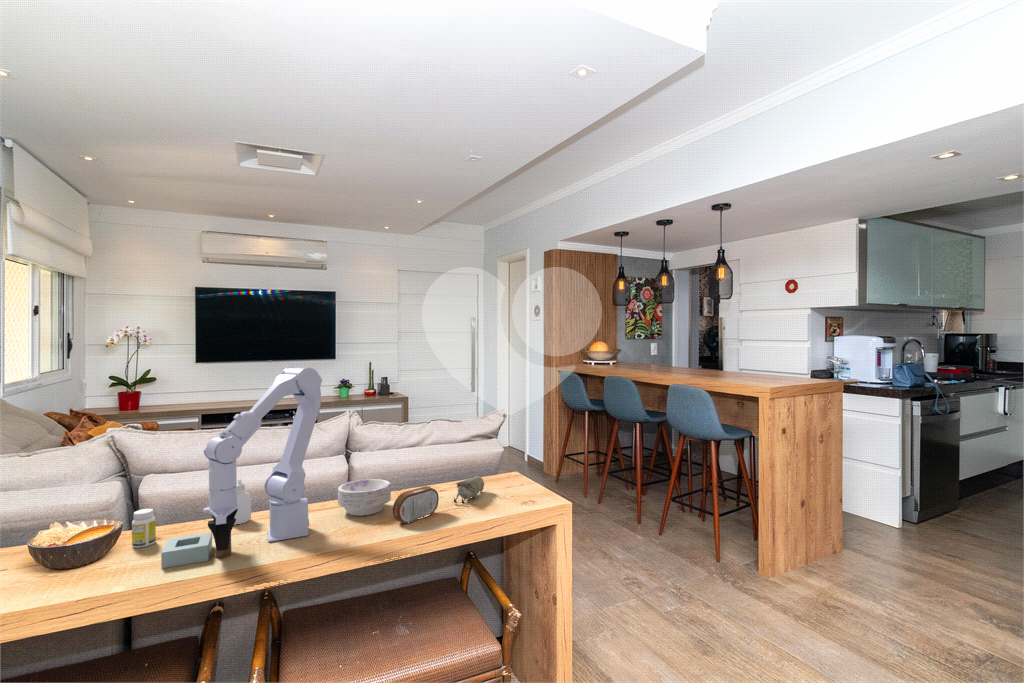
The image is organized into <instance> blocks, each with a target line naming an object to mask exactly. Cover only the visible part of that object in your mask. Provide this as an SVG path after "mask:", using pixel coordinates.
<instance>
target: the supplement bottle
mask: <svg viewBox="0 0 1024 683" xmlns="http://www.w3.org/2000/svg"><path fill="white" fill-rule="evenodd" d="M156 534H157V533H156V517H155V516H154V509H153V508H143V509H142V508H141V509H138V510H136V511H134V512H133V520H132V521H131V544H132V545H131V546H132V547H133V548H135V549H139V548H141V547H142V548H146V547H149V546H152V545H154V544H155V543H156V541H157V540H156V539H157V538H156V537H157V536H156Z"/></svg>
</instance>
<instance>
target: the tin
mask: <svg viewBox="0 0 1024 683" xmlns="http://www.w3.org/2000/svg"><path fill="white" fill-rule="evenodd" d="M439 497H440V496H439V493H438V491H437V490H436V489H435V488H433V487H431V486H428V485H425V486H424V485H423V486H421V487H418V488H415V489H411V490H408V491H404V492H402V493H400V494H399V495H397V497H396V499H395V500H394V503H393V506H392V516H393V518H394V520H396V521H398V522H400V523H402V524H409V523H408V522H411V521H413V520H416V519H418V518H421V517H424V516H426V515H429V514H432V513H433V514H434V513H435V511H436V510H437V508H438V505H439V499H440V498H439ZM433 514H432V515H433ZM416 521H417V520H416ZM413 522H414V521H413ZM411 523H412V522H411Z"/></svg>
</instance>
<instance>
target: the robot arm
mask: <svg viewBox="0 0 1024 683" xmlns="http://www.w3.org/2000/svg"><path fill="white" fill-rule="evenodd" d="M322 383H323V378H322V377H321V375H320V374H319V373H318V371H317V370H316V369H315V368H313V367H295V366H289V367H286V368H285V369H283V370H282V371H281V374H279V375H277V376H276V377H275V379H274V381H273V382H272V384H271V385H270V386H269V388H268V389H267V390H266V391H265V392H264V394H263V395H262V396H261V397H259V399H258V400H257V402H256V403H255V404H254V405H253V407H251V409H249V410H246V411H245V410H244V411H241V412H240V413H236V414H235V415H234V416H233V417H232V418H233V419H234V420H232V421H231V423H230V424H228V425H227V427H226V428H225V429H223V430H220V431H219V433H218V435H219V436H216V437H213V438H211V439H210V440H209V441H208V442H207V444H206V446H205V449H204V450H203V455H204V456H205V458H207V460H208V507H204V508H203V509H202V510H203V511H202V513H204V514H206V513H207V514H208V513H209V514H210V516H211V518H212V520H208V521H207V527H208V529H209V530H210V531H211V532H212V537H213V539H214V543H215V549H216V548H217V551H221V550H227V549H228V546H229V541H230V535H231V536H232V530H233V527H235V526H234V524H235V522H236V518H235V519H234V517H235V515H236V513H237V511H238V504H237V483H238V479H237V478H238V477H237V476H238V475H237V472H238V470H237V469H238V468H237V467H238V466H237V459H238V458H240V457H241V455H242V451H243V447H244V445H245V444H246V443H248V441H249V440H250V438H252V437H253V435H254V434H256V432H257V431H258V430H259V429H260V428H261V427H262V419H263V417H265V416H266V415H267V414H268V413H269V412H270V411H271V410H272V409H273V408H274V407H275V406H276V405H277V404H278V403H279V402H280V401H281V400H282V399H283V398H285V397H287V396H293V397H294V399H295V400H296V402H297V403H298V406H297V409H296V413H295V415H294V419H293V422H292V424H291V428H290V431H289V435H288V437H287V440H286V443H285V446H284V450H283V454H282V456H281V459H280V461H279V462H278V463H277V464H276V465H275V466H274V467H272V471H271V473H270V475H269V476H268V477H267V478H266V480H265V482H264V485H263V489H264V492H265V494H266V495H268V496H269V497H268V500H269V505H268V506H269V529H268V530H267V541H268V543H270V542H277V541H283V540H289V539H294V538H295V539H296V538H301V536H302V537H306V536H307V537H308V536H309V534H310V533H309V526H310V519H309V505H308V504H309V503H308V502H309V500H308V498H307V497H303V498H302V496H303V495H304V493H305V489H306V484H305V479H306V471H305V470H304V467H303V463H304V460H305V457H306V454H307V451H308V448H309V444H310V441H311V438H312V437H311V436H312V435H313V431H314V428H315V424H316V421H317V418H318V415H319V412H320V409H321V404H322V401H323V400H322V391H321V386H322Z"/></svg>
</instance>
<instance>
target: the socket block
mask: <svg viewBox="0 0 1024 683" xmlns="http://www.w3.org/2000/svg"><path fill="white" fill-rule="evenodd" d="M212 548H213V534H212V532H204V533H197V534H190V535H184V536H177V537H172V538H170V537H169V538H168V539H167V541H166V543H165V545H164V547H163V549H162V551H161V554H160V556H161V558H160V559H161V560H160V561H161V562H160V563H161V564H160V565H161V569H165V568H166V569H167V568H172V567H177V566H183V565H184V566H185V565H188V564H189V565H190V564H194V563H200V562H206V561H209V559H210V555H211V551H212Z"/></svg>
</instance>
